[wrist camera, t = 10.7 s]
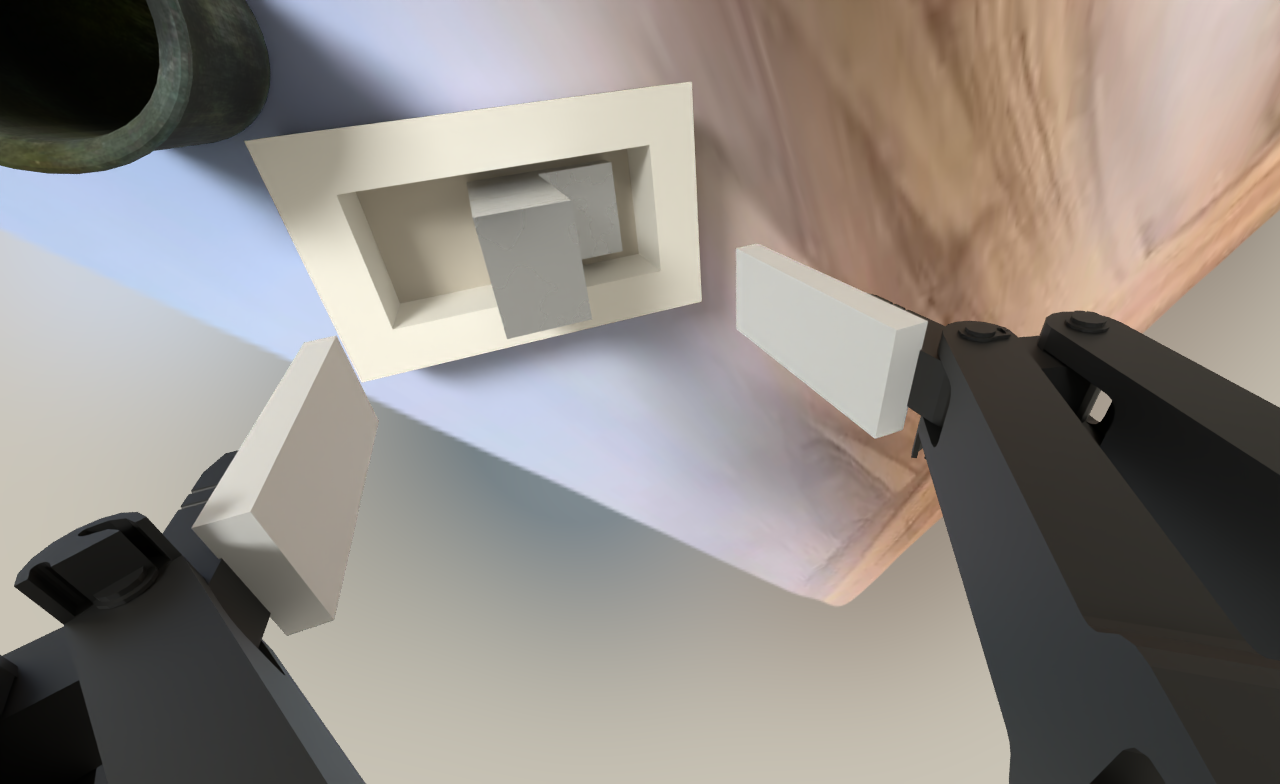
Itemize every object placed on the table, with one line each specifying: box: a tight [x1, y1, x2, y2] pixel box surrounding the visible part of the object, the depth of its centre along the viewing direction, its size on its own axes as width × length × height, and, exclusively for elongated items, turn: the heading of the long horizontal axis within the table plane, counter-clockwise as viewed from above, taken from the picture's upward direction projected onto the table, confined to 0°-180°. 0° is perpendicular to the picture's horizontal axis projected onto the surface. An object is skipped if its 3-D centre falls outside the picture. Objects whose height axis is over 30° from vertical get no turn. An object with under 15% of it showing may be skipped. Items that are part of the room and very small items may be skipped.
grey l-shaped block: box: [466, 160, 623, 339], centre depth 29 cm, size 6×10×13 cm, turn 97°
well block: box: [244, 82, 702, 382], centre depth 33 cm, size 14×24×6 cm, turn 97°
